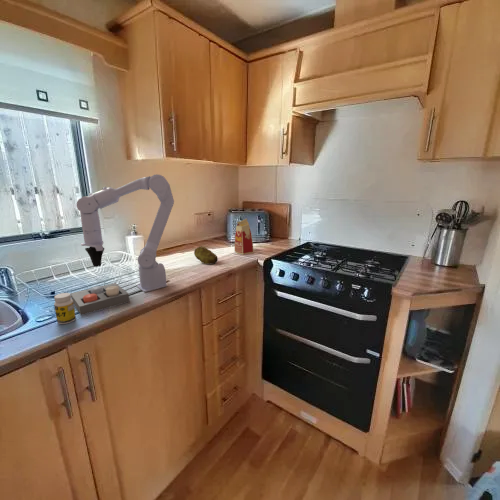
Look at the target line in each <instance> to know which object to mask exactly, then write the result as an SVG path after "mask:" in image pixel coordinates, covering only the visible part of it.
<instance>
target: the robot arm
mask: <svg viewBox="0 0 500 500" xmlns="http://www.w3.org/2000/svg"><path fill="white" fill-rule="evenodd" d="M140 190H144V191H145V190H146V191H150V190H151V191H152V193H154V194H155V195H156V196H157V199H158V200H159V202H160V205H159V207H158V210H157V212H156V215H155V219H154V221H153V224H152V226H151V229H150V231H149V235H148V237H147V240H146V243H145V246H144V247H142V248H141V249H140V252H139V255H138V257H137V263H138V273H139V274H138V275H139V283H140V284H138V285H136V287H137V288H138V289H139V290H141V291H143V293H146V292H150V291H154V290H158V289H161V288H165V287H168V284H167V276H166V275H167V273H166V267H165V266H164V264H163V263H158V261H157V260H156V257H157V251H158V247H159V244H160V242H161V240H162V236H163V234H164V231H165V228H166V225H167V222H168V220H169V217H170V215H171V212H172V209H173V206H174V205H175V200H174V196H173V193H172V189H171V185H170V183H169V182H168V180H167V179H166V178H165V177H164V176H163V175H162V174H158V173H157V174H153V175H151V176H146V177H145V176H144V177H140V178H137V179H135V180H133V181H130V182H128V183H125V184H124V185H122V186H119V187H117V188H114V187H112V186H108V187H107V186H104V187H102V190H99V191H96V192H94V193H93V192H90V193H88V195H87V196H86V195H85V196H81V197H80V198H78V200H77V201H76V207H77V210H78V211H79V213H80V220H81V229H82V233H83V234H82V235H83V241H84V242H81V243H80V246H81V247H84V246H85V248H84V251H86V252H87V254H88V256H89V258H90V260H91V263H92V265H93V267H95V268H96V267H101V265H102V260H103V259H102V258H103V254H104V252H105V246H104V240H103V236H102V228H101V227H102V226H101V222H100V221H101V220H100V216H99V209H100V210H102V209H103V208H106V207H110V206H111V205H114V204H117V203H118V202H119V200H120V198H121V197H123V196H126V195H128V194H131V193H134V192H136V191H140Z"/></svg>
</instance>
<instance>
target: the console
mask: <svg viewBox="0 0 500 500" xmlns="http://www.w3.org/2000/svg"><path fill="white" fill-rule="evenodd" d="M101 286H102V287H103V291H104V292H101V293H97V299H98V300H96V301H92V302H88V303H84V300H83V297H84V296H85V295H88V294H91V291H90V289H91V288H87V289H84V290H83V289H82V290H80V291H75V292H71V293H70V292H69V293H70V295H71V299H72V300H73V304H74V308H75V309H76V310H77V312H78V313H79V314H80V316H83V315H87V314H90V313H94V312H97V311H98V312H99V311H101V310H104V309H108V308H112V307H115V306H119V305H123V304H126V303H128V302H130V294H129V292H127V291H126V290H125V289H124V288H122V286H120V285H119V284H117V283H116V282H114V283H109V284H106V285H105V284H104V285H101ZM110 286H118V288H119V295H115V296H111V297H107V295H106V288H107V287H110Z"/></svg>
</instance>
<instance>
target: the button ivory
mask: <svg viewBox="0 0 500 500" xmlns="http://www.w3.org/2000/svg"><path fill="white" fill-rule="evenodd" d="M106 295H107V297H111V296H115V295H119V288H118V286H110V287H107V288H106Z"/></svg>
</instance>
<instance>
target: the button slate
mask: <svg viewBox="0 0 500 500" xmlns="http://www.w3.org/2000/svg"><path fill="white" fill-rule="evenodd" d="M102 286H103V285H96V286H93V287H91V288H89V289H90V291H91V294H97V293H101V292H104V291H103V287H102Z"/></svg>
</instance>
